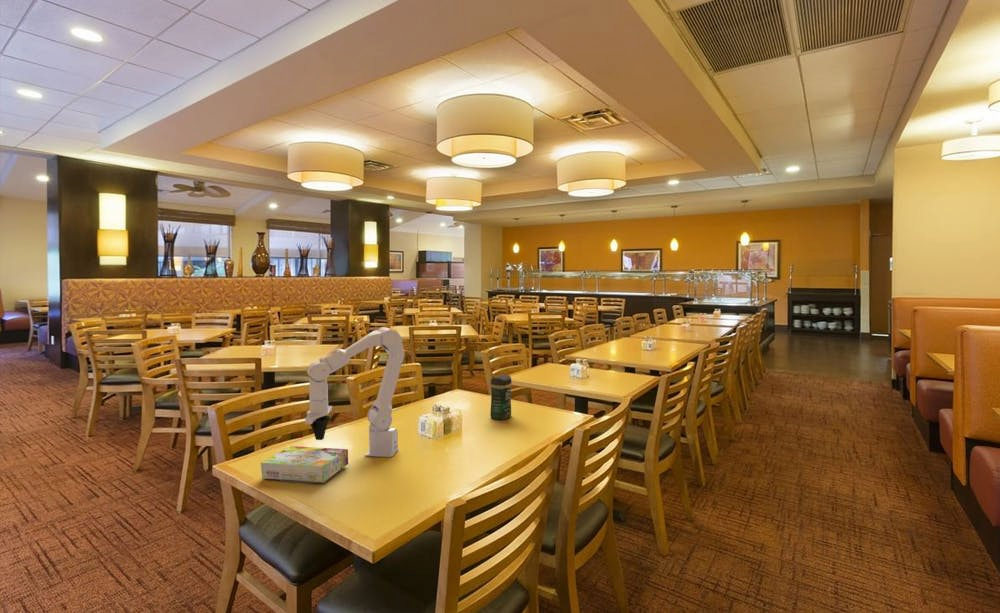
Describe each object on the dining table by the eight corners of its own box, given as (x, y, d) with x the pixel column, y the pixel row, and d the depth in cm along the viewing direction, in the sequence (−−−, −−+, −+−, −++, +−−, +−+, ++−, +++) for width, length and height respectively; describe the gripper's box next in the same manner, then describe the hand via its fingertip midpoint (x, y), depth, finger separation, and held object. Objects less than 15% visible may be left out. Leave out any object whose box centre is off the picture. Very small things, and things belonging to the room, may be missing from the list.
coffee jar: (503, 421, 207) (503, 378, 206) (487, 418, 211) (487, 376, 210) (514, 415, 215) (514, 374, 214) (499, 413, 219) (499, 372, 218)
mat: (342, 466, 159) (342, 465, 159) (324, 483, 146) (323, 482, 146) (301, 464, 160) (301, 463, 160) (279, 481, 147) (279, 480, 147)
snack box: (348, 447, 158) (322, 465, 143) (349, 463, 159) (324, 484, 144) (290, 444, 162) (259, 462, 148) (291, 461, 163) (260, 480, 148)
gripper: (317, 392, 167) (318, 431, 167) (295, 404, 152) (296, 446, 153) (337, 393, 166) (338, 432, 167) (317, 404, 151) (318, 447, 152)
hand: (319, 439), depth 160 cm, fingers closed
